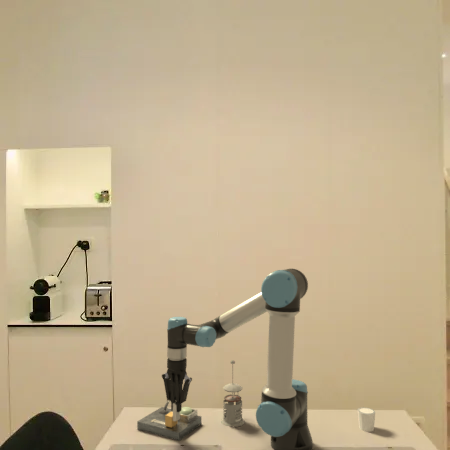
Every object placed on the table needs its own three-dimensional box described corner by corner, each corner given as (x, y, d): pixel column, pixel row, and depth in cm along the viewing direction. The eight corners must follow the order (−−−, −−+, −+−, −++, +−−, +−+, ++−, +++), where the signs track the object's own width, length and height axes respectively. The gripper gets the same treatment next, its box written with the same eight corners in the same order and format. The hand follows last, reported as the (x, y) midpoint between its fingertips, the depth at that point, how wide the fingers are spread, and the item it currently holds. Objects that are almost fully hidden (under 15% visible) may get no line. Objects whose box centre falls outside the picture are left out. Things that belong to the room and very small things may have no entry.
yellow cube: (177, 423, 157) (177, 413, 157) (171, 427, 154) (171, 416, 154) (171, 421, 158) (171, 411, 159) (165, 425, 155) (165, 415, 155)
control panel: (201, 423, 164) (201, 410, 164) (178, 440, 150) (179, 425, 150) (161, 413, 173) (162, 401, 174) (137, 429, 159) (137, 414, 160)
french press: (218, 425, 163) (218, 362, 164) (225, 413, 174) (225, 355, 175) (242, 428, 160) (242, 364, 162) (247, 415, 172) (247, 356, 173)
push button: (194, 415, 164) (194, 408, 164) (187, 420, 160) (187, 413, 160) (184, 413, 166) (184, 406, 167) (177, 418, 162) (177, 410, 162)
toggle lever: (168, 411, 169) (176, 392, 167) (164, 413, 167) (172, 393, 165) (163, 407, 170) (171, 388, 168) (160, 409, 168) (168, 390, 166)
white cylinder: (356, 430, 159) (355, 412, 159) (358, 423, 165) (358, 405, 165) (374, 433, 156) (374, 415, 156) (376, 426, 162) (376, 409, 162)
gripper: (196, 357, 156) (195, 419, 155) (169, 353, 162) (168, 412, 161) (185, 362, 150) (184, 427, 149) (157, 357, 156) (156, 419, 155)
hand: (176, 419), depth 155 cm, fingers closed
